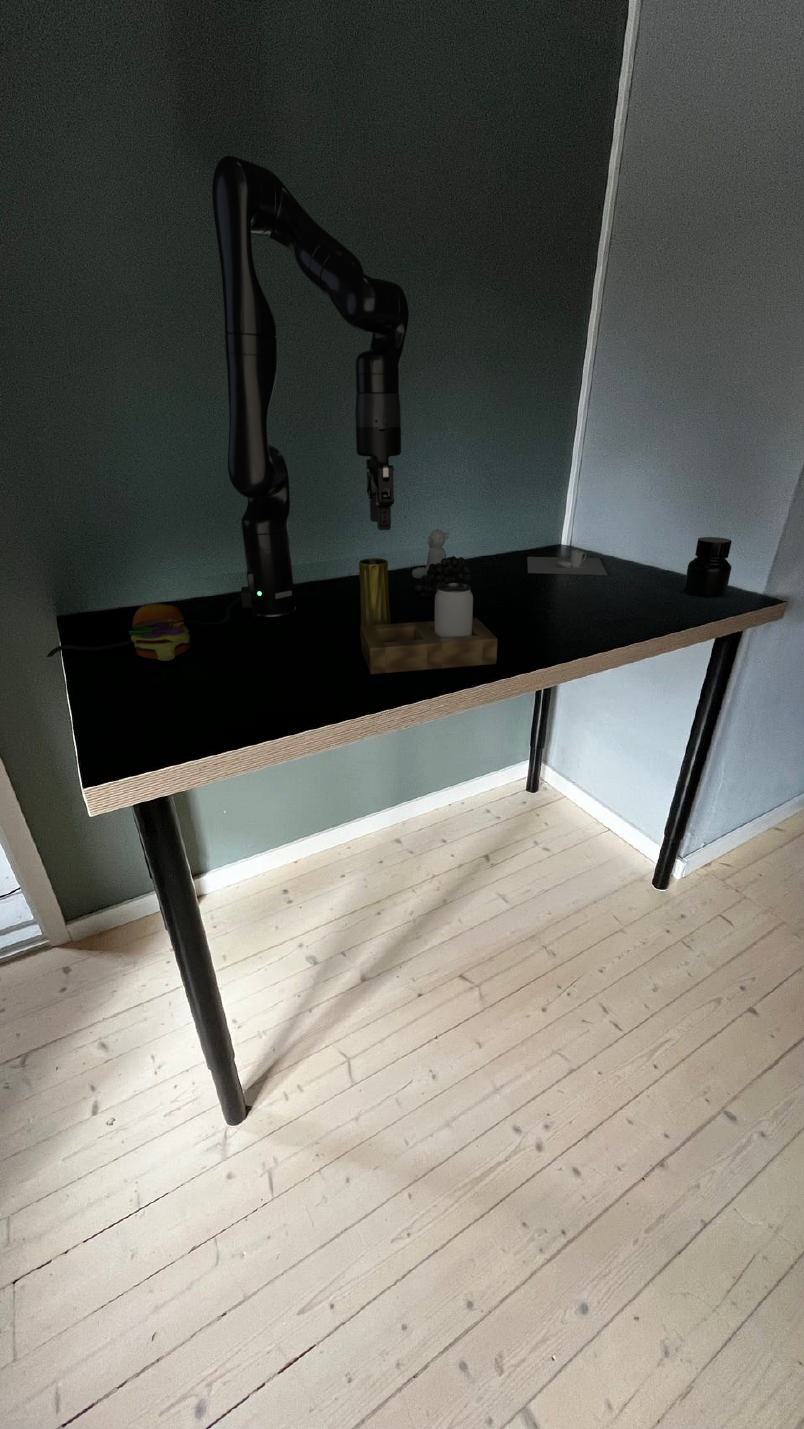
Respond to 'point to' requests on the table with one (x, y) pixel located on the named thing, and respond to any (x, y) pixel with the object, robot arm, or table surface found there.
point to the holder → (424, 647)
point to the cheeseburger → (159, 632)
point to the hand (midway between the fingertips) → (380, 525)
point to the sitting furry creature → (433, 552)
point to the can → (453, 610)
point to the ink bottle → (709, 568)
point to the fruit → (443, 575)
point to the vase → (374, 592)
